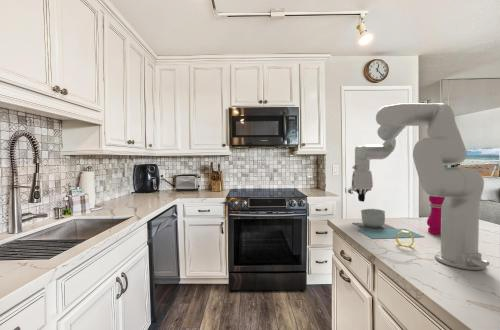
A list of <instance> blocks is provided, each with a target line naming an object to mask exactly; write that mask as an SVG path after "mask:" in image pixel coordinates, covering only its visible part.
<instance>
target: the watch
mask: <svg viewBox="0 0 500 330" xmlns="http://www.w3.org/2000/svg"><path fill="white" fill-rule="evenodd" d="M409 231H410V230H409ZM409 231H405V230H401V232H399V233H398V234H397V235H396V238H395V241H396V243H397V244H398V245H399V246H401V247H407V248H410V247H411V246H413V244H414V242H415V239H414V238H415V237H413V236H412V235H411V234H410V233H409ZM401 233H403V234H408V235H410V236H411V240H412V242H411V243H410V244H403V243H401V242H400V241H399V238H397V236H398V235H399V234H401Z"/></svg>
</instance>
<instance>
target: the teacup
mask: <svg viewBox="0 0 500 330" xmlns="http://www.w3.org/2000/svg"><path fill="white" fill-rule="evenodd" d="M360 213H361V221H362V222H361V223H364V224H365V225H366V226H368V227H372V228H378V227H381V226H382V225H383V224H386V223H385V222H386V211H385V210H382V209H377V208H366V209H361V211H360Z"/></svg>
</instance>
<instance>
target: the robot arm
mask: <svg viewBox="0 0 500 330" xmlns="http://www.w3.org/2000/svg"><path fill="white" fill-rule="evenodd" d="M375 121H376V123H377V124H378V125H379V127H378V128H377V131H376V132H377V136H378V137H379V138H380V139H381V140H382V141H384V142H383V143H382V144H364V145H357V146H355V148H354V165H352V169H354V170H353V171H352V175H351V190H352V191H354V192H356V193H357V200H358V202H361V203H362V202H363V203H364V202H365V200H366V199H365V198H366V194H367V193H368V192H369V191H372V188H374V187H373V186H374V184H373V183H374V182H373V174H372V171H371V170H370V165H371V164H370V163H371V162H370V161H371V160H384V159H387V158H389V156H390V155H391V154H392V153H393V152H394V150H395V149H396V145H397V142H396V141H397V139H396V138H397V137H398V136H399V134H401V132H403V130H404V129H405V128H406V127H408V126H409V127H412V126H413V127H417V126H418V127H419V126H420V127H421V126H423V127H424V126H427V129H426V130H427V131H426V133H427V136H428V137H425V138H421V139H419V140H418V141H417V142H416V143H415V145H414V146H413V150H412V157H413V163H414V166H415V169H416V173H417V176H418V180H419V183H420V186H421V187H422V189H423V191H424V192H425V193H426V194H427V195H429V196H430V195H431V196H434V197H445V199H444V201H443V204H442V209H441V235H440V251H437V252H435V254H434V258H435V260H437V261H438V262H440V263H441V264H445V265H447V266H450V267H453V268H457V269H461V270H462V269H463V270H469V271H480V270H485V269H487V267H488V266H489V265H490V261H487V260H485V259H482V253H480V252H479V234H480V232H479V230H480V229H479V228H480V227H479V225H480V205H481V199H482V195H483V191H484V187H485V181H484V178H483V176H482V174H481V173H480V172H479V171H477V170H476V169H473V168H470V167H469V168H468V167H464V166H463V167H461V166H460V167H457V166H456V167H445V166H455V165H459V164H461V163H464V161H465V160H466V159H467V149H466V146H465V144H464V141H463V137H462V135H461V133H460V130H459V127H458V125H457V123H456V118H455V113H454V111H453V108H452V107H451V106H450V105H449V104H446V103H442V102H441V103H438V102H437V103H413V102H411V103H406V102H405V103H403V102H402V103H397V104H391V105H390V104H389V105H385V106H381V108H379V109H378V110H377V112H376V115H375Z"/></svg>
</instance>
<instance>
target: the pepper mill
mask: <svg viewBox="0 0 500 330" xmlns="http://www.w3.org/2000/svg"><path fill="white" fill-rule="evenodd" d="M444 199H445V197H434V196H431V195H429V196H428V201H429V202H430V203H429V207H431V208H430V209H431V210H430V213H429V216H428V217H427V219H426V224H427V226H428V228H427V232H428V233H429V234H433V235H436V236H437V235H438V236H441V209H442V204H443V201H444Z"/></svg>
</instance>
